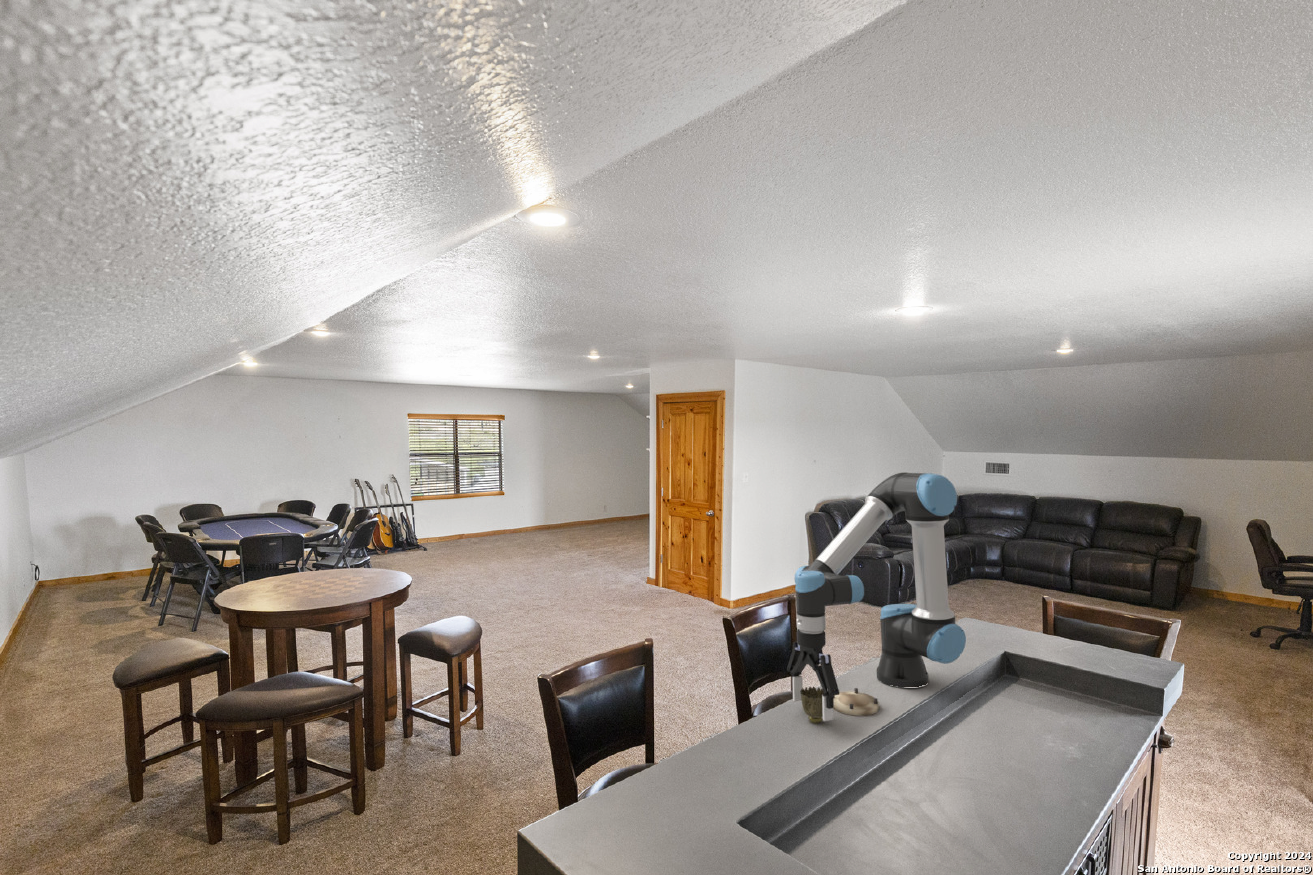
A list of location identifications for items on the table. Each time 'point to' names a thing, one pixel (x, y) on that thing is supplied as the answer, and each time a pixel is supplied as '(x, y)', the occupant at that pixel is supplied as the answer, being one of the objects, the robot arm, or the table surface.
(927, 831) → the table surface
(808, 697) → the ornate scalloped bell shade
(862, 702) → the seat plate
